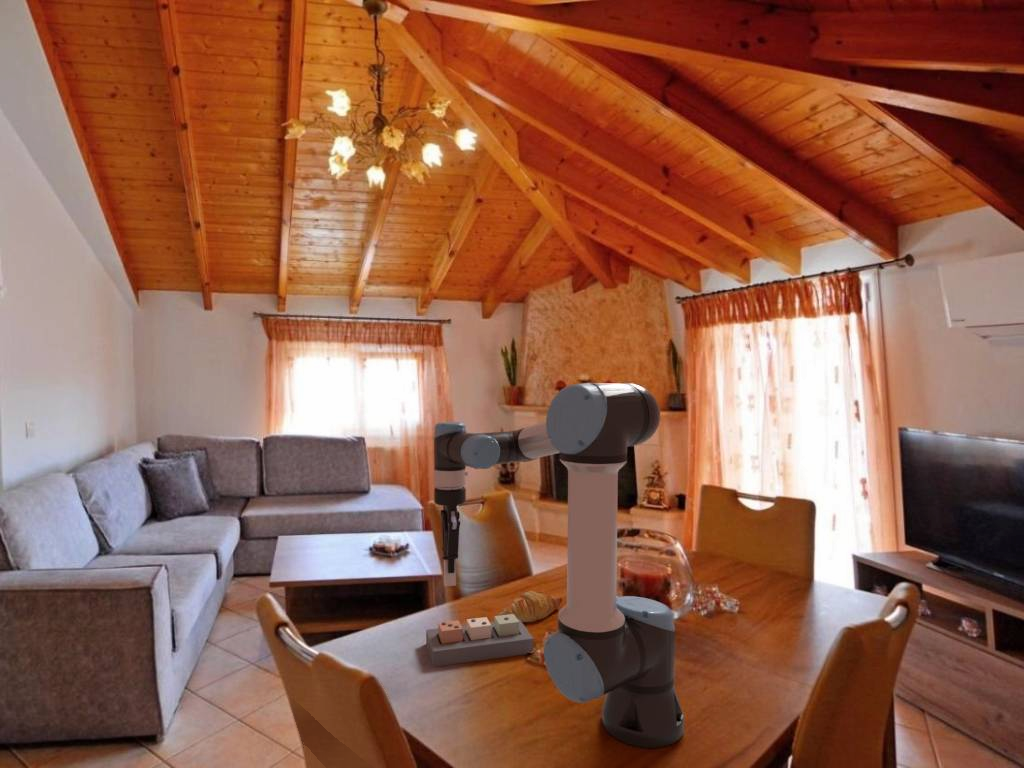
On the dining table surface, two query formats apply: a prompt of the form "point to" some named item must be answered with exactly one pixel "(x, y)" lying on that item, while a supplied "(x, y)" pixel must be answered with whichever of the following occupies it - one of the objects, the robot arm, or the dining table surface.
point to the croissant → (532, 606)
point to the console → (478, 646)
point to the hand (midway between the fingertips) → (450, 584)
